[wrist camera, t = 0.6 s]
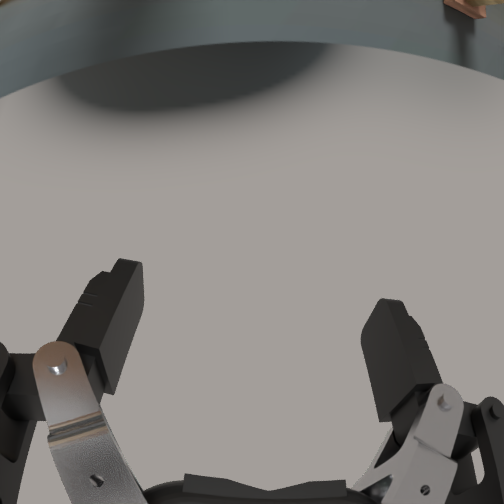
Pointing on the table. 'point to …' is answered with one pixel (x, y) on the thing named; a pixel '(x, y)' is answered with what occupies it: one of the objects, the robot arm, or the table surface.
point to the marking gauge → (472, 6)
